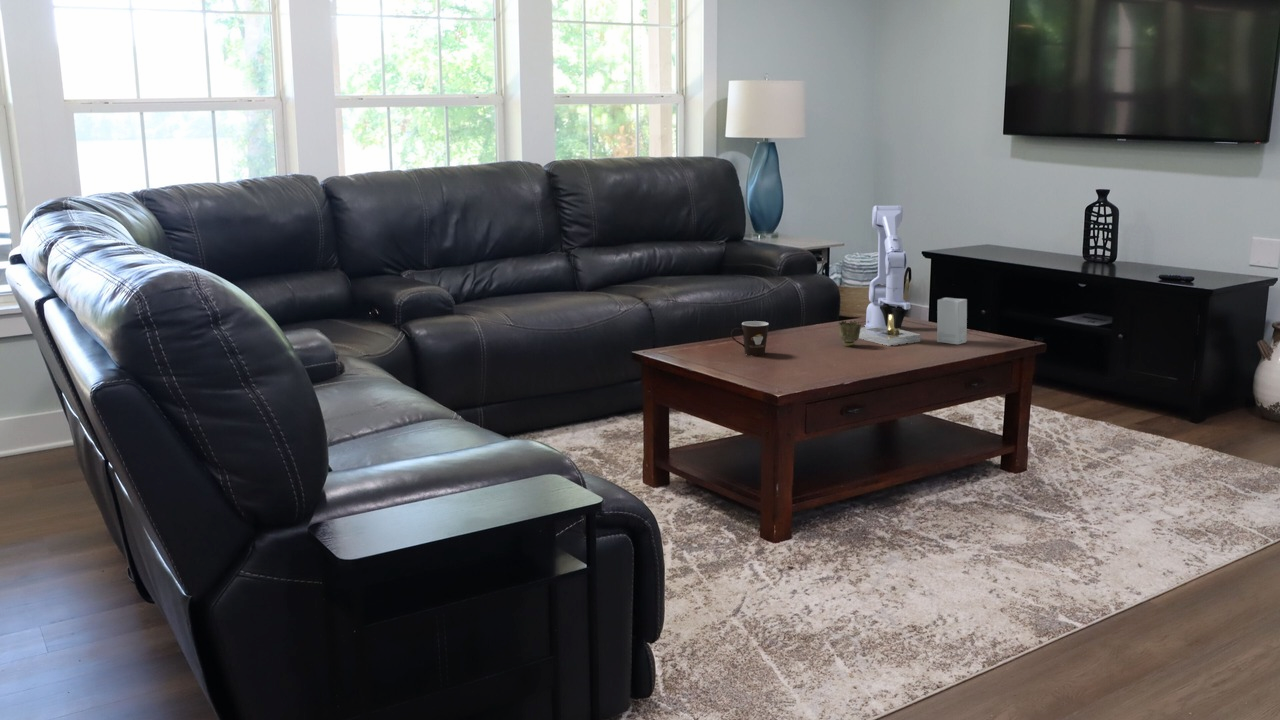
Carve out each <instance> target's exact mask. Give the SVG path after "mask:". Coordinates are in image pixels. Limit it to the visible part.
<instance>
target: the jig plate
mask: <svg viewBox="0 0 1280 720" xmlns="http://www.w3.org/2000/svg"><path fill="white" fill-rule="evenodd" d="M921 337H922V335H921V334H920V333H915V332H912V331H908V330H904V329H901V328H899V335H896V336H893V335H887V326H883V325H878V326H870V327H864V326H863V327H862V326H861V329H860V335H859V338H858V339H860V340H863V339H864V341H868V342H872V343H876V344H879V345H882V344H883V346H886V345H887V347H892V346H891V345H893V346H898V344H900V345H906V343H908V344H913V343H914V342H915V343H921V340H922V338H921Z"/></svg>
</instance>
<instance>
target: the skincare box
mask: <svg viewBox="0 0 1280 720" xmlns="http://www.w3.org/2000/svg"><path fill="white" fill-rule="evenodd" d="M936 313H937V314H936V315H937V316H936V317H937V318H936V319H937V320H936V321H937V322H936V323H937V326H936V327H937V328H936V330H937V331H936V332H937V335H936V339H937V340H936V342H937V343H945V344H951V345H962V344H965V343H967V341H968V339H967V334H968V331H967V329H968V328H967V327H968V326H967V325H968V324H967V323H968V320H967V319H968V299H967V298H956V297H955V298H954V297H942V298H938V299H937V311H936Z"/></svg>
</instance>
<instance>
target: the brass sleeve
mask: <svg viewBox="0 0 1280 720" xmlns="http://www.w3.org/2000/svg"><path fill="white" fill-rule="evenodd" d="M899 329H900V328H899ZM899 329H895V328H894V316H893V313H889V314H888V326H887V335H893V336H896V335H899Z"/></svg>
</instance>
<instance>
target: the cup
mask: <svg viewBox="0 0 1280 720" xmlns="http://www.w3.org/2000/svg"><path fill="white" fill-rule="evenodd" d="M861 328H862V322H860V321H856V320H854V321H853V320H850V321H849V322H847V321H846V320H845V321H843V320H841V321H839V322H838V331H839V333H838V334H839V339H841V340H842V341H843V345H844V347H848V348H851V347H854V346H855V344H856V342H857V340H858V339H859V335H860V329H861Z"/></svg>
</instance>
